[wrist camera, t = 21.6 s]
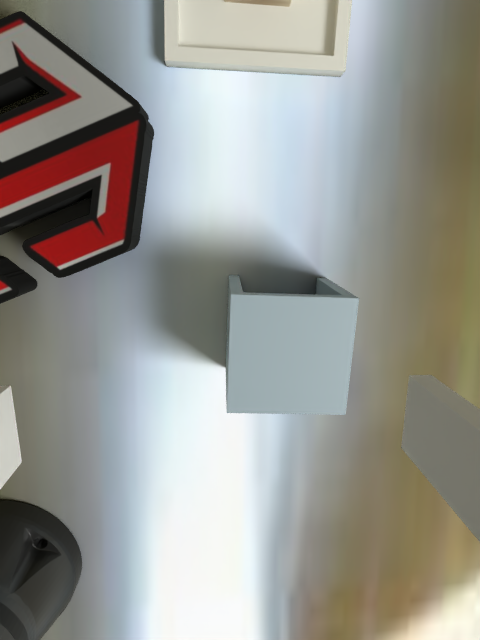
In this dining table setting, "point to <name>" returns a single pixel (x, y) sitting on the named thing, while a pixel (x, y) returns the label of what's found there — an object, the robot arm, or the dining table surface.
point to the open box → (289, 350)
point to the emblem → (66, 155)
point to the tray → (258, 36)
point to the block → (263, 2)
